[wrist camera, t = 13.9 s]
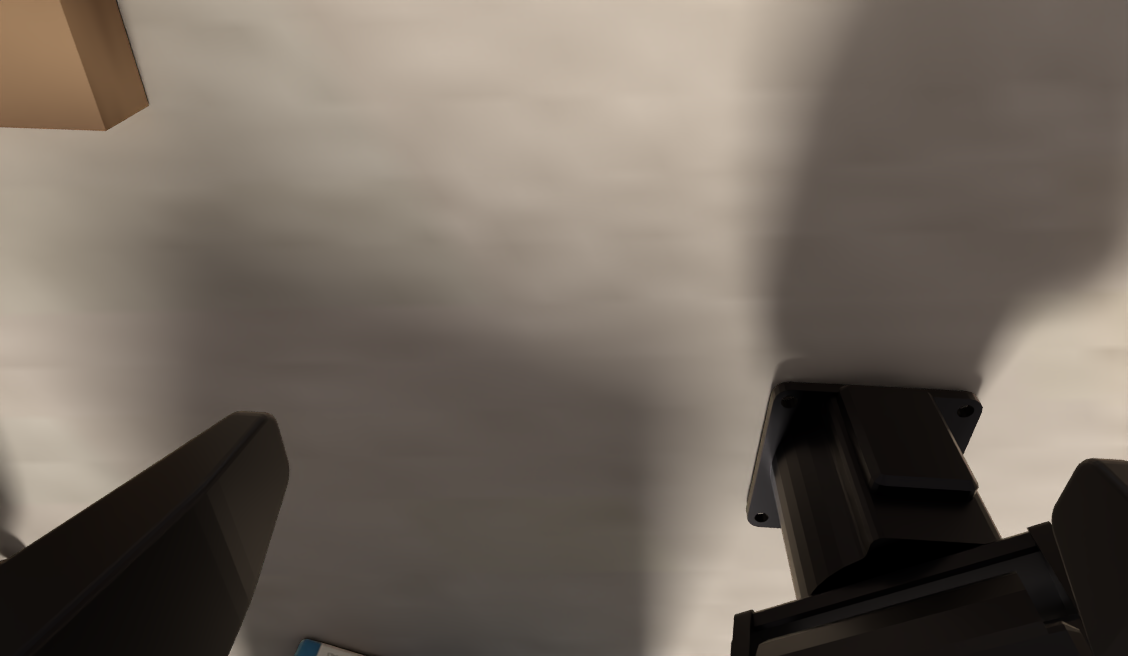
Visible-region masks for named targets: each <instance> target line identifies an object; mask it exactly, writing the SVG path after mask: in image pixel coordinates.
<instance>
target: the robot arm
mask: <svg viewBox="0 0 1128 656" xmlns="http://www.w3.org/2000/svg"><path fill="white" fill-rule="evenodd" d="M786 396H794V397H793V398H791V399H789V400H784V399H783V398H784V397H786ZM965 405H968V406H967V407H965V408H963V409H959V408H960V407H962V406H965ZM982 408H983V407H982V405H981V403H980V401H979V400H978V398H977V396H976V395H975V394H973V393H972V392H968V391H954V390H935V389H918V388H899V387H879V386H860V385H840V384H821V383H802V382H783V383H781V384H779V385H777V386H776V387H775V388H774V389H773V391H772V393H771V397H770V402H769V406H768V411H767V415H766V420H765V424H764V429H763V434H762V438H761V443H760V447H759V452H758V456H757V461H756V465H755V470H754V475H753V479H752V484H751V488H750V493H749V497H748V502H747V506H746V513H747V519H748V521H749V523H750V524H752V525H753V526H757V527H769V528H781V529H782V534H783V538H784V543H785V548H786V553H787V557H788V562H789V567H790V571H791V576H792V581H793V585H794V590H795V595H796V599H797V600H794V601H791V602H787V603H784V604H781V605H777V606H774V607H770V608H767V609H764V610H760V611H757V612H754V611H753V610H749V611H745V612H742V613H739V614H735V615H734V626H733V640H732V642H731V656H1128V461H1125V460H1116V459H1098V458H1090V459H1086V460H1084V461H1083V462H1081V463H1080V464H1079V465H1078V466H1077V467H1076V469H1075V471H1074V473H1073V474H1072V476H1071V478H1070V480H1069V481H1068V483H1067V485H1066V487H1065V488H1064V490H1063V492H1062V494H1061V496H1060V497H1059V499H1058V501H1057V503H1056V504H1055V506H1054V509H1053V513H1052V525H1051V523H1050V522H1049V521H1048V522H1044V523H1041V524H1038V525H1034V526H1031V527H1028V528H1027V529H1028V531H1027V532H1024V533H1021V534H1017V535H1014V536H1011V537H1007V538H1004V539H1002V537H1001V536H1000V534H999V532H998V530H997V528H996V526H995V524H994V522H993V520H992V518H991V516H990V514H989V512H988V510H987V509H986V507H985V505H984V503H983V501H982V499H981V497H980V495H979V493H978V491H977V490H978V483H977V481H976V479H975V477H974V475H973V473H972V471H971V469H970V467H969V465H968V464H967V462H966V460H965V458H964V456H963V454H964V452H965V449H966V447H967V445H968V443H969V440H970V438H971V436H972V433H973V431H974V429H975V427H976V424H977V422H978V420H979V418H980V415H981V413H982ZM288 480H289V462H288V458H287V455H286V451H285V448H284V445H283V441H282V438H281V434H280V431H279V427H278V424H277V421H276V419H275V418H274V417H273V415H271V414H269V413H266V412H248V411H239V412H235V413H232V414H231V415H229V416H227V417H226V418H224V419H223V420H221V421H220V422H218V423H216V424H215V425H213V426H212V427H210V428H209V429H207V430H206V431H204V432H203V433H201V434H200V435H198V436H196V437H195V438H193V439H192V440H190V441H189V442H187V443H186V444H184V445H183V446H181V447H180V448H178V449H176V450H175V451H173V452H172V453H170V454H169V455H167V456H166V457H164V458H163V459H161V460H160V461H158V462H156V463H155V464H153V465H152V466H150V467H149V468H147V469H146V470H144V471H143V472H141V473H140V474H138V475H136V476H135V477H133V478H132V479H130V480H129V481H127V482H126V483H124V484H123V485H121V486H120V487H118V488H116V489H115V490H113V491H112V492H110V493H109V494H107V495H106V496H104V497H103V498H101V499H100V500H98V501H96V502H95V503H93V504H92V505H90V506H89V507H87V508H86V509H84V510H83V511H81V512H80V513H78V514H77V515H75V516H73V517H72V518H70V519H69V520H67V521H66V522H64V523H63V524H61V525H60V526H58V527H57V528H55V529H53V530H52V531H50V532H49V533H47V534H46V535H44V536H43V537H41V538H40V539H38V540H37V541H35V542H33V543H32V544H30V545H29V546H27V547H26V548H24V549H23V550H21V551H20V552H18V553H17V554H15V555H13V556H12V557H10V558H9V559H7V560H6V561H4V562H3V563H1V564H0V656H228V655H229V652H230V650H231V648H232V646H233V643H234V641H235V639H236V636H237V634H238V632H239V629H240V627H241V625H242V622H243V620H244V617H245V615H246V612H247V610H248V608H249V605H250V602H251V600H252V597H253V594H254V591H255V588H256V585H257V582H258V578H259V575H260V572H261V569H262V566H263V562H264V559H265V556H266V553H267V549H268V546H269V543H270V540H271V536H272V533H273V530H274V527H275V523H276V520H277V517H278V514H279V510H280V507H281V504H282V501H283V497H284V494H285V491H286V488H287V484H288ZM758 513H763V514H758Z"/></svg>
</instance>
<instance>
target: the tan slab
mask: <svg viewBox="0 0 1128 656" xmlns="http://www.w3.org/2000/svg"><path fill="white" fill-rule="evenodd" d="M147 106H149V104H148V101H147V98H146V95H145V92H144V88H143V85H142V82H141V79H140V76H139V73H138V69H137V66H136V63H135V60H134V57H133V54H132V50H131V47H130V44H129V41H128V38H127V35H126V31H125V28H124V25H123V22H122V19H121V16H120V12H119V9H118V6H117V3H116V0H0V127H11V128H40V129H68V130H96V131H107V130H108V129H110V128H112V127H113V126H115V125H117V124H118V123H120V122H122V121H124V120H125V119H127V118H129V117H130V116H132V115H134V114H135V113H137V112H139V111H141V110H142V109H144V108H146V107H147Z"/></svg>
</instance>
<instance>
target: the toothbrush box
mask: <svg viewBox="0 0 1128 656" xmlns="http://www.w3.org/2000/svg"><path fill="white" fill-rule="evenodd" d="M294 656H364V655H361V654H358V653H355V652H351V651H348V650H345V649H341V648H338V647H335V646H331V645H328V644H325V643H321V642H318V641H313V640H310V639H303V640H302V641H301V643H300V644H299V646H298V648H297V651H296V653H295V655H294Z"/></svg>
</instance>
